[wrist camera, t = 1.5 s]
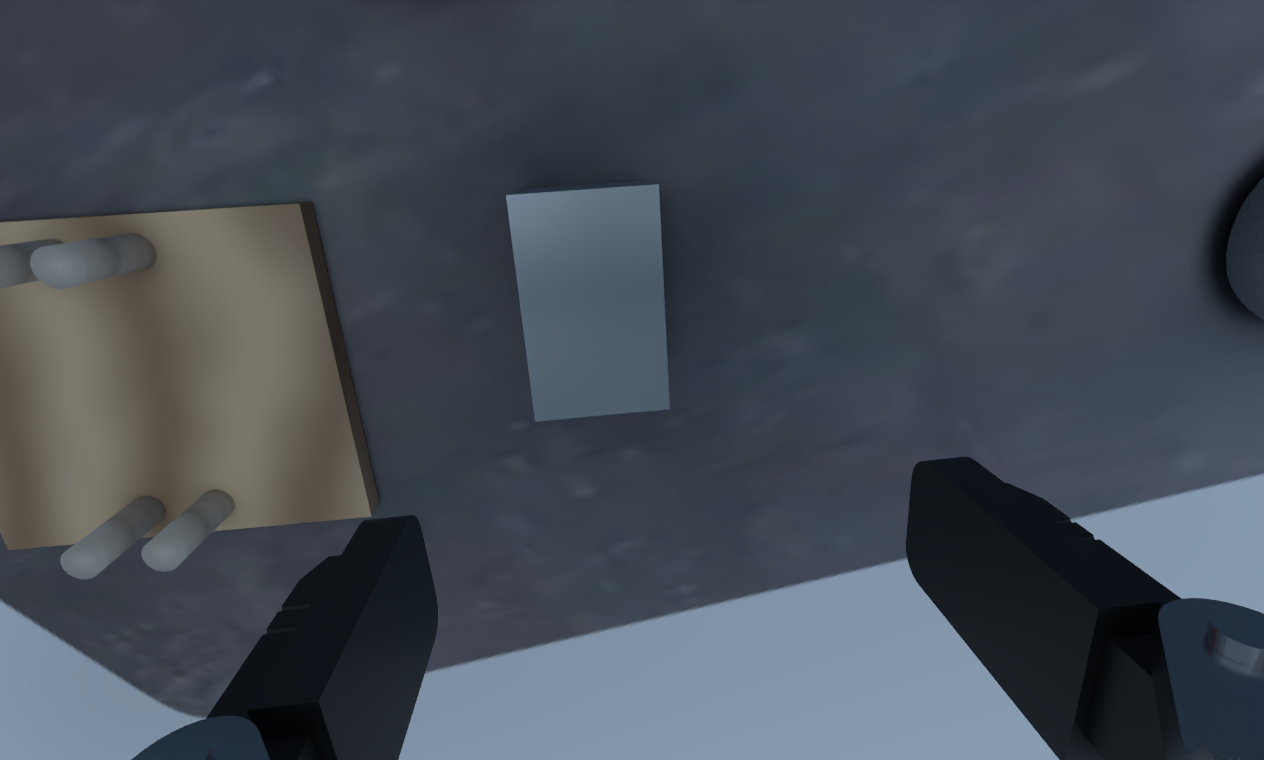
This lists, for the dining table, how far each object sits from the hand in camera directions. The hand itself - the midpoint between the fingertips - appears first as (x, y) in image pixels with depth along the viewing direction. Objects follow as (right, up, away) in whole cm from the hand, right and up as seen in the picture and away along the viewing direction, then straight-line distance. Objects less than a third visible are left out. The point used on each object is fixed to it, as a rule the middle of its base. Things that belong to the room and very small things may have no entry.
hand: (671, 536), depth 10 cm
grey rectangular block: (-2, +7, +17) cm, 19 cm away
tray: (-21, +3, +17) cm, 27 cm away
